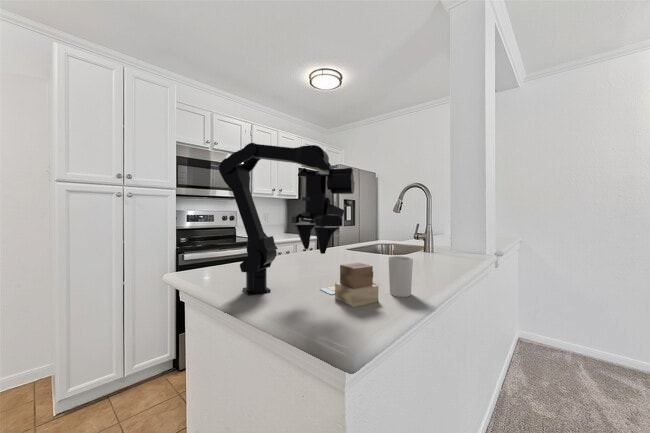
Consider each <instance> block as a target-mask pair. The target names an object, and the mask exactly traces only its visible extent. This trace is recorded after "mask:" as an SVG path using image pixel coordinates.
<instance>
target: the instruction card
mask: <svg viewBox="0 0 650 433" xmlns="http://www.w3.org/2000/svg"><path fill="white" fill-rule="evenodd" d="M319 290H320V291H321V292H324V293H326V294H328V295H330V296H333V295H335V285H334V286H329V287H323V288H319Z"/></svg>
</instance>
